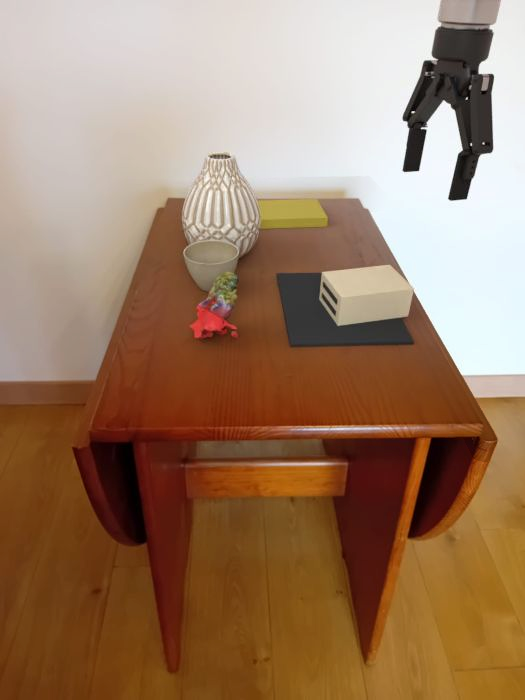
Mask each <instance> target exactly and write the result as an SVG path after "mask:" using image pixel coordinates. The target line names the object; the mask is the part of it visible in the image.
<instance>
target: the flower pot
mask: <svg viewBox="0 0 525 700" xmlns="http://www.w3.org/2000/svg"><path fill="white" fill-rule="evenodd" d="M182 254H183V259H184V263H185V265H186V268H187V271H188V273H189V274H190V276H191V278H192V280H193V281H194V283H195V284H196V285H197V287H198V288H199V289H200V290H201V291H203V292H206V293H209V292H210V290H211V288H212V285H213V283H214V282H215V281H216V279H217V278H218V276H219V275H221V274H223V273H224V272H226V271H229V272H231V273H234V274H235V272H236V269H237V266H238V262H239V259H240V258H239V249H238V247H237V246H235V245H234V244H232V243H230V242H226V241H222V240H204V241H199V242H195V243H193V244H191V245H190V244H189V245H187V246H186V247H185V248H184V250H183V253H182ZM238 258H239V259H238Z"/></svg>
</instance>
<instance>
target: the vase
mask: <svg viewBox="0 0 525 700" xmlns="http://www.w3.org/2000/svg"><path fill="white" fill-rule="evenodd" d="M182 206H183V207H182V210H181V211H182V212H181V225H182V231H183V235H184V236H185V239H186V241H187V243H188V244H189V245H191V244H193V243H195V242H199V241H204V240H222V241H226V242H230V243H232V244H234V245H235V246H237V247H238V249H239V258H238V260H239V259H240V258H242V257H244V256H245V255H247V254H248V253H249V252H250V251H251V250H252V249H253V247H254V246H255V245H256V242H257V240H258V238H259V236H260V232H261V230H262V229H261V212H260V207H259V204H258V198H257V195H256V193H255V191H254V189H253V188H252V186H251V184H250V182H248V180H247V178H246V177H245V176H244V175H243V173H242V171H241V170H240V168H239V165H238V162H237V159H236V156H235V155H234V154H233V153H231V152H228V151H213V152H210V153H207V154H206V155H205V158H204V162H203V165H202V168H201V170H200V172H199V173H198V175H197V177H195V180H193V182H192V184H191V186H190V188H189V189H188V191H187V193H186V196H185V198H184V202H183V205H182Z"/></svg>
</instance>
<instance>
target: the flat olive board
mask: <svg viewBox="0 0 525 700" xmlns="http://www.w3.org/2000/svg"><path fill="white" fill-rule="evenodd" d="M257 200H258V199H257ZM258 204H259V207H260V212H261V229H260V230H265V229H268V230H269V229H270V230H271V229H296V228H297V229H298V228H325V227H328V221H329V217H328V215H327V214H326V212H325V210H324V209H323V207H322V206H321V204H320V202H319V200H318V199H317V198H304V199H303V198H302V199H301V198H299V199H266V200H262V199H261V200H258Z"/></svg>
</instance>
